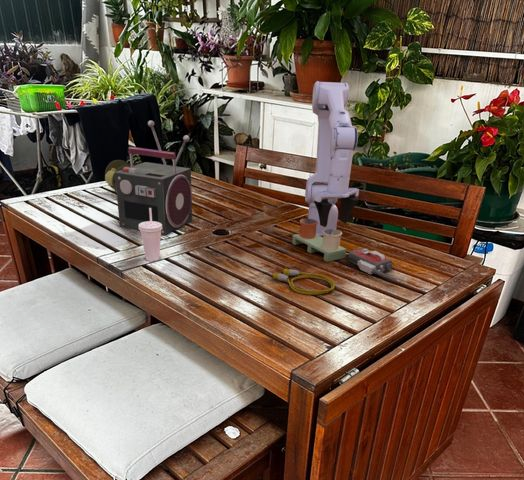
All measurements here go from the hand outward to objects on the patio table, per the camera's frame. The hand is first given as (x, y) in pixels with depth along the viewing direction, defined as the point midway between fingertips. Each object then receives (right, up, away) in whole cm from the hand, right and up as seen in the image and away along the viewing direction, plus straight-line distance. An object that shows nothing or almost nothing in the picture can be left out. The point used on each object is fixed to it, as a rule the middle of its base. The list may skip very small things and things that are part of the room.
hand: (333, 224), depth 147 cm
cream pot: (0, -6, +4) cm, 7 cm away
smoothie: (-51, -10, -2) cm, 52 cm away
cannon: (-69, +26, +55) cm, 92 cm away
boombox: (-55, +6, +24) cm, 60 cm away
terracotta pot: (-6, -1, +11) cm, 13 cm away
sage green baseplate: (-4, -6, +9) cm, 11 cm away
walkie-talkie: (+11, -14, -2) cm, 18 cm away
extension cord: (-9, -19, -12) cm, 24 cm away
